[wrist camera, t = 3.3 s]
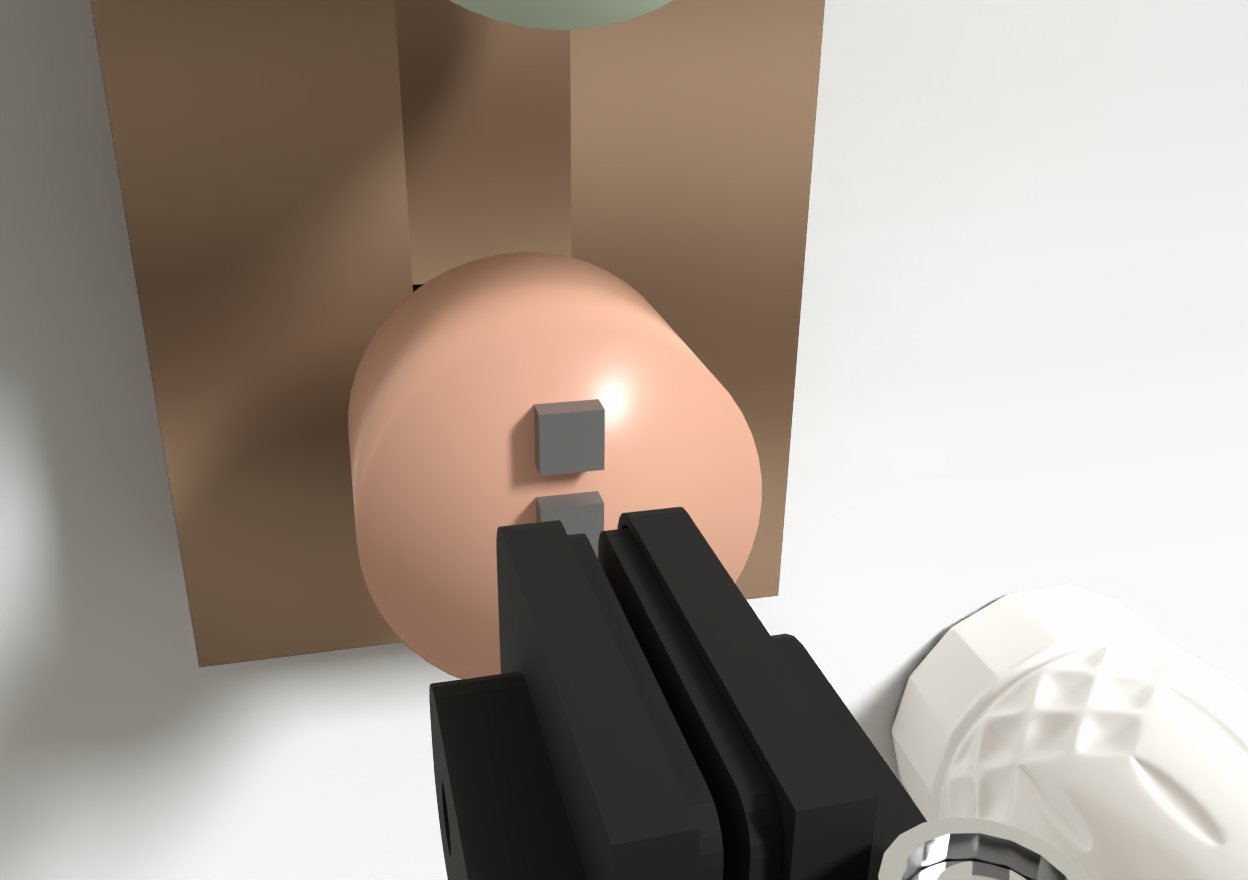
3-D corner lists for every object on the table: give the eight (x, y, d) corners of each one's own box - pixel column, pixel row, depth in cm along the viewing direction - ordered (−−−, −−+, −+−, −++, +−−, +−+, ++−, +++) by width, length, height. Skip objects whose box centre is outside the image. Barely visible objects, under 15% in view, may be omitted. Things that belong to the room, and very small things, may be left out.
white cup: (803, 720, 26) (1052, 1123, 18) (1072, 494, 26) (1474, 796, 17) (971, 880, 30) (1247, 1281, 21) (1210, 685, 29) (1602, 1017, 20)
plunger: (328, 203, 17) (338, 350, 11) (631, 191, 18) (784, 320, 12) (353, 483, 19) (374, 735, 13) (626, 457, 20) (759, 680, 14)
